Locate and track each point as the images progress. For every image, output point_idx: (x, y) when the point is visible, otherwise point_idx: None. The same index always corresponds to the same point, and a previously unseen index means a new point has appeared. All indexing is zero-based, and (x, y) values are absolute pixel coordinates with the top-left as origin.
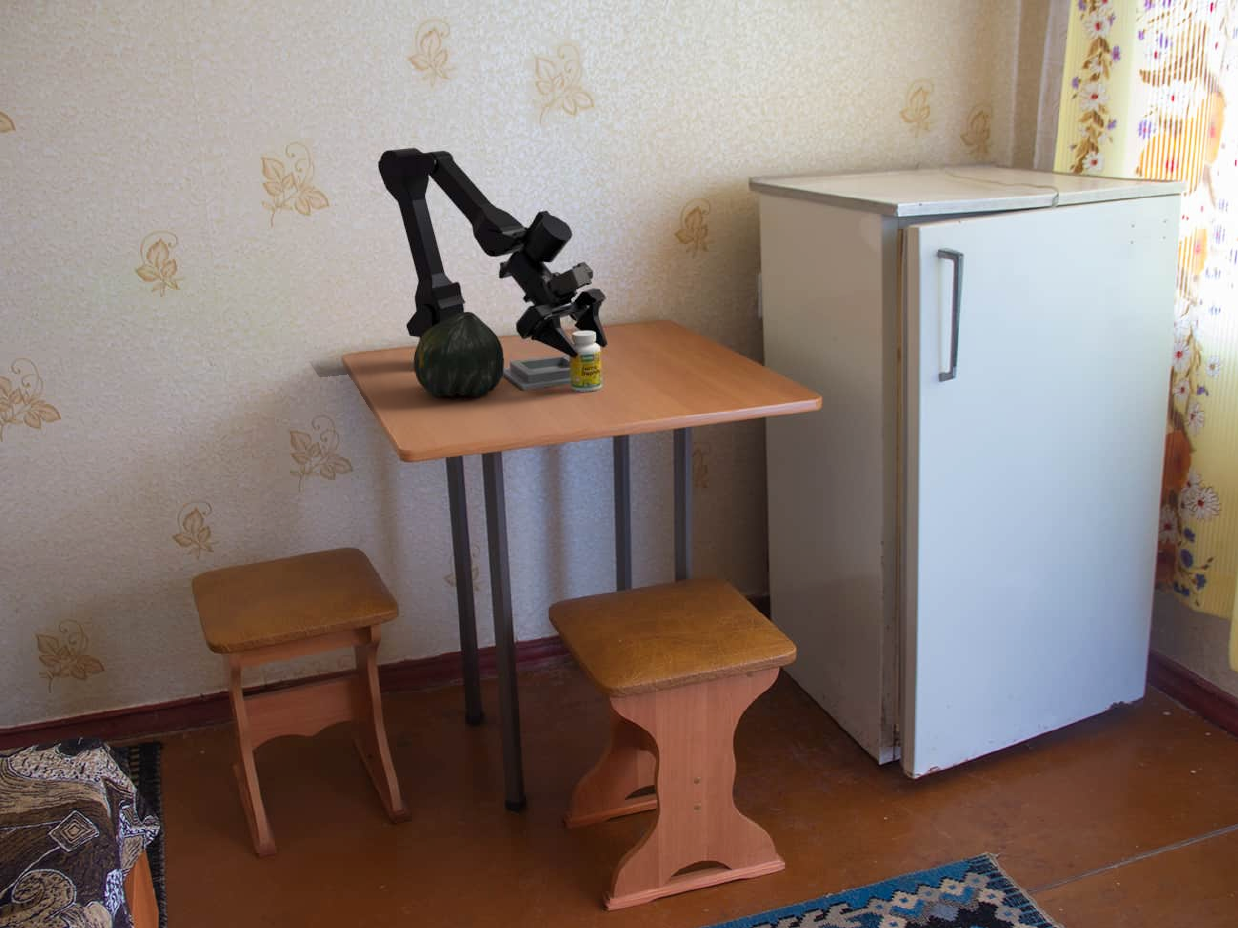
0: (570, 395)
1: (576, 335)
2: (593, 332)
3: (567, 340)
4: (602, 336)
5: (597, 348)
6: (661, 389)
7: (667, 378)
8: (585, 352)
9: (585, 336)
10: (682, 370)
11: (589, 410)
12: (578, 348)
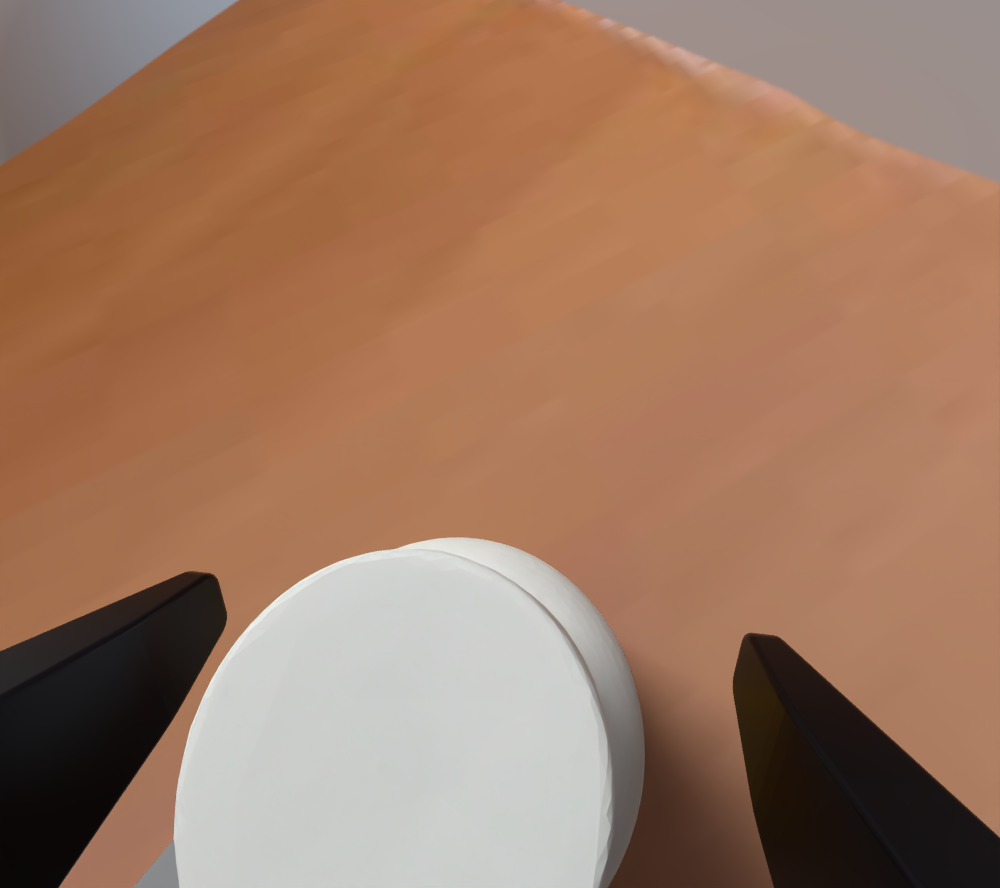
0: (697, 705)
1: (604, 823)
2: (306, 612)
3: (968, 829)
4: (130, 622)
5: (450, 540)
6: (386, 309)
7: (192, 376)
8: (602, 616)
9: (556, 625)
10: (39, 385)
11: (896, 418)
12: (615, 726)
